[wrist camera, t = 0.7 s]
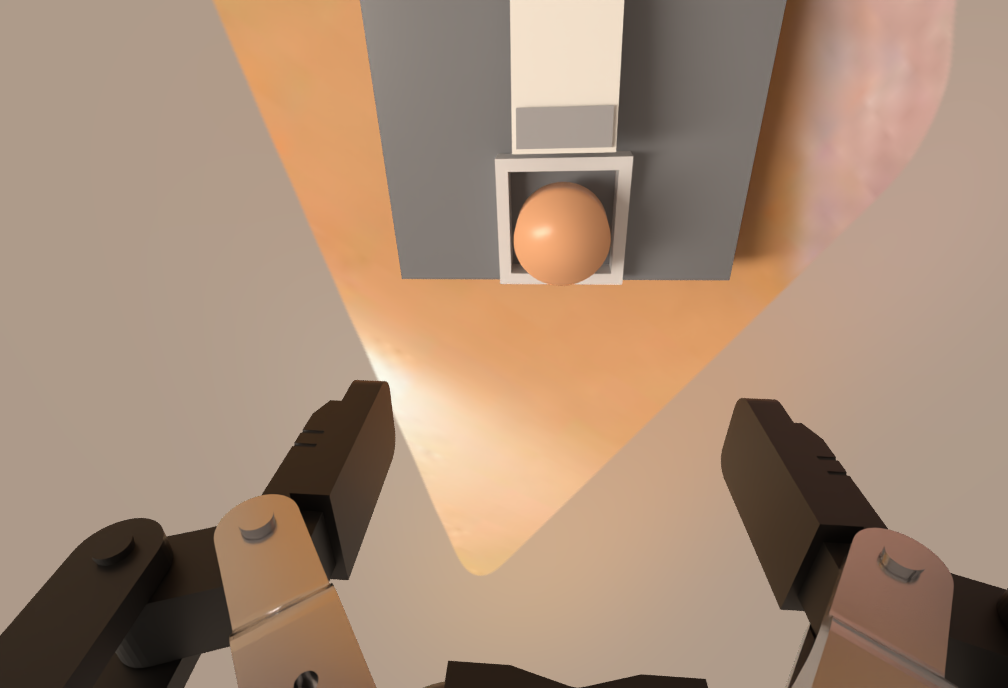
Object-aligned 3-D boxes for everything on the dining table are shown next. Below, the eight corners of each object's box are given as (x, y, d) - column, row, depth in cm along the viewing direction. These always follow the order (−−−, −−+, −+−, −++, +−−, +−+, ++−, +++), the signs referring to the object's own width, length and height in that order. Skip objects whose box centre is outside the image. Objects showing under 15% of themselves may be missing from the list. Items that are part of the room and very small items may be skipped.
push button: (610, 180, 24) (614, 192, 22) (604, 269, 26) (607, 286, 24) (515, 182, 24) (512, 193, 22) (517, 269, 26) (514, 285, 25)
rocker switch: (623, -38, 20) (627, -51, 19) (613, 151, 23) (616, 152, 21) (512, -31, 21) (508, -44, 19) (514, 154, 23) (511, 154, 22)
